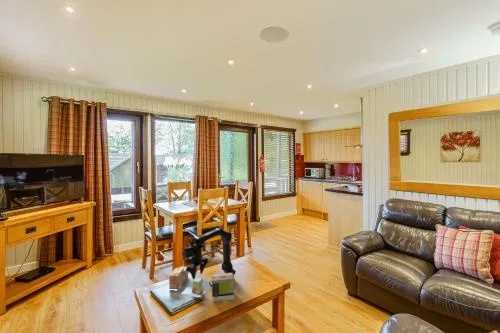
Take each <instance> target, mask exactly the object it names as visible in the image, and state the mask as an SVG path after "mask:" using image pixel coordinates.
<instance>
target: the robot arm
mask: <svg viewBox="0 0 500 333" xmlns="http://www.w3.org/2000/svg"><path fill="white" fill-rule="evenodd" d="M217 236H220V239H221V241H222V244H223V245H222V246H223V262H222V263H221V270H222V271H223V273H233V277H234V281H235V280H236V279H235V275H236V272H237V271H236V270H235V269H234V267H233V266H234V265H233V263H232V261H231V241H232V236H233V235H232V233H231V232H229V231H226V230H223V229H222V228H219V227H216V228H214V229H213V230H211V231H208V232H206V233H204V234H198V235H194V236H193V237H192V239H191V241H190V243H189V245H188V247H184V248H183V250H182V254H181V255H182V257H183V259H184V260H185V261H184V262H185V264H186V265H188V266H186V267H187V268H186V271H188V273H190V275H191V277H192V280H194V279H195V278H196V275H197V273H198V272H197V269H198V267H199V273H200V274H202V275H203V272H204V270H205V267H206V266H207V264H208V262H209V259H208V258H207V257H204V255H203V254H202V252H203V251H202V250H203V248H205V245H204V244H205V243H206V242H207V241H208V240H210V239H212V238H215V237H217ZM189 264H190V265H189Z"/></svg>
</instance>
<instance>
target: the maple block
mask: <svg viewBox="0 0 500 333" xmlns="http://www.w3.org/2000/svg"><path fill="white" fill-rule="evenodd" d="M203 292H204V286H202V287H201V288H199V289H196V288H193V287H192V293H193V294H197V295H201V294H202V293H203Z"/></svg>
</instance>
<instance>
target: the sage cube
mask: <svg viewBox="0 0 500 333" xmlns="http://www.w3.org/2000/svg"><path fill="white" fill-rule="evenodd" d="M203 280H204V279H203V278H201V277H195V279H192V283H193V288H196V289H199V288H201V287H202V286H203Z"/></svg>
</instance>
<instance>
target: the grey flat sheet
mask: <svg viewBox="0 0 500 333" xmlns="http://www.w3.org/2000/svg"><path fill="white" fill-rule="evenodd" d="M209 282H211V281H209V280H205V279H203V286H204V292H203V293H202V294H201V296H202V298H203V297H205V296H206V295H207V294H208V293H209V292H210V291H212V287H211V286H210V284H209ZM188 286H189V287H191V288H192V287H193V282H192V283H190V284H189V285H188Z"/></svg>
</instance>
